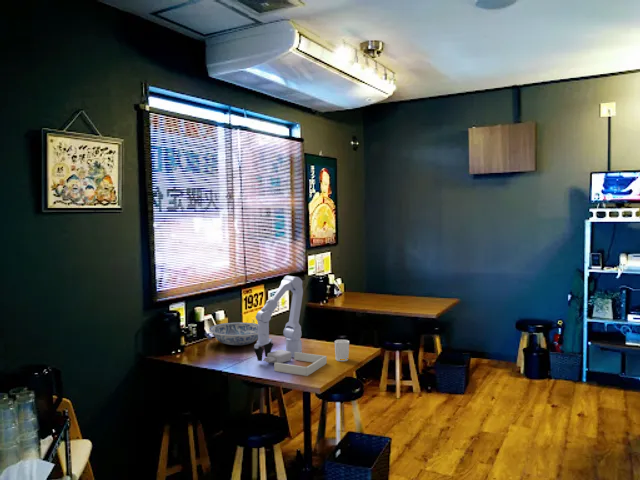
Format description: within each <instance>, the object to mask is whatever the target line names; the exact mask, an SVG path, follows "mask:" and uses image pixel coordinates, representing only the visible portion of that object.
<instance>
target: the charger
mask: <svg viewBox="0 0 640 480" xmlns="http://www.w3.org/2000/svg"><path fill="white" fill-rule="evenodd" d="M262 361H264V362H266V363H268V364H269V363H272V364H274V363H282V364H284V363H286V362H290V361H292V357H291V352H289V351H286V349H277V350H275V351H271V352H270V353H268V354H267V357H265V358H264V359H262Z"/></svg>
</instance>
